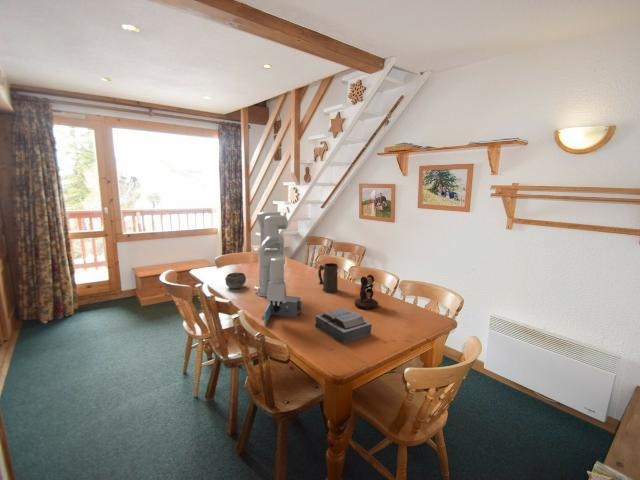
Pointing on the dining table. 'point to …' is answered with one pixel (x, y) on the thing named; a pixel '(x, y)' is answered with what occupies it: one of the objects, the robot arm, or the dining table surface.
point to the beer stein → (329, 277)
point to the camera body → (289, 307)
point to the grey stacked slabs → (343, 325)
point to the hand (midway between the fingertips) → (276, 311)
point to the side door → (267, 313)
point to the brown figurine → (366, 293)
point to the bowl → (235, 280)
